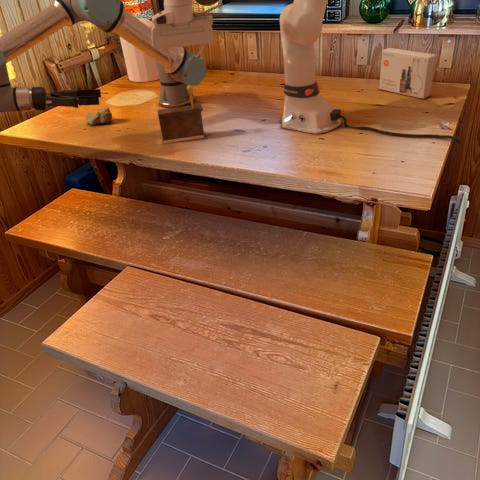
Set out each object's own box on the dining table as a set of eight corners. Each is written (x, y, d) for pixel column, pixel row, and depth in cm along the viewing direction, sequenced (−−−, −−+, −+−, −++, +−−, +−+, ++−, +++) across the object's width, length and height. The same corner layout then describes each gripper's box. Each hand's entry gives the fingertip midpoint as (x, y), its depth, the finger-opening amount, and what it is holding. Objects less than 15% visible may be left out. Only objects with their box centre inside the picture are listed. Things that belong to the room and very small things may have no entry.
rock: (87, 123, 194) (86, 127, 185) (83, 107, 191) (82, 111, 182) (113, 119, 196) (113, 123, 187) (110, 103, 193) (110, 107, 184)
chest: (203, 132, 171) (199, 106, 166) (204, 137, 167) (201, 111, 162) (163, 138, 170) (158, 112, 164) (163, 143, 166) (158, 117, 160)
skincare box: (377, 89, 194) (381, 50, 185) (385, 86, 197) (389, 47, 188) (423, 99, 180) (429, 56, 171) (430, 95, 183) (437, 53, 174)
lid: (201, 106, 166) (198, 83, 161) (202, 110, 162) (199, 87, 157) (158, 112, 164) (153, 88, 160) (158, 117, 160) (154, 93, 156)
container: (160, 81, 233) (149, 21, 217) (121, 82, 238) (108, 23, 222) (174, 69, 249) (165, 13, 233) (138, 70, 254) (126, 15, 238)
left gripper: (41, 103, 165) (102, 101, 169) (28, 118, 143) (99, 115, 147) (37, 81, 161) (99, 79, 165) (23, 93, 139) (96, 91, 144)
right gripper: (210, 9, 149) (215, 54, 157) (147, 17, 148) (155, 61, 155) (213, 12, 144) (217, 58, 152) (147, 20, 142) (156, 66, 150)
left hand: (100, 96), depth 156 cm, fingers open, 13 cm apart
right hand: (185, 60), depth 154 cm, fingers open, 8 cm apart
